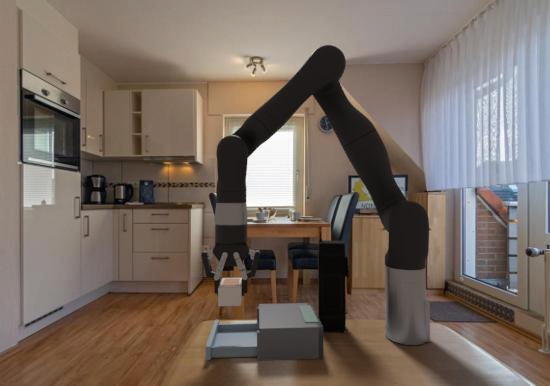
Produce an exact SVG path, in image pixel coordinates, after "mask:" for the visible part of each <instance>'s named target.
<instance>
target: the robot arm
mask: <svg viewBox="0 0 550 386" xmlns="http://www.w3.org/2000/svg"><path fill="white" fill-rule="evenodd" d="M346 61H347V60H346V57H345V54H344V52H343V51H342V50H341V49H340V48H339V47H337V46H335V45H332V44H325V45H321V46H319V47H317V48H316V49H315V50H313V52H312V53H311V54H310V56H309V57H308V59H306V61H305V63H304V64H303V65H302V66H301V67H300V69H299V70H297V72H296V73H295V74H294V75H293V76H292V77H291V78H290V79H289V80H288V81H287V82H286V83H285V84H284V85H283V86H282V87H281V88H280V89H279V90H278V91H276V92H275V94H273V95H272V96H271V97H270V98H269V99H267V101H265V102H264V103H263V104H262V105H261V106H259V107H258V108H257V109H256V110H255V111H254V112H253V113H252V114H250V115H249V116H248V117H247V118H246V119H245V120H244V122H243V123H242V125H241V126H240V127H239V128H238V129H237V130H235V131H234V132H233V133H232V134H230V135H226V136H224V137H222V139H220V140H219V142H218V144H217V146H216V155H215V156H216V168H217V181H216V190H215V191H216V192H215V193H216V195H215V201H216V202H215V203H216V205H215V213H214V246H213V249H211V250H204V251H203V252H202V253H201V255H200V256H201V261H202V265H203V268H204V273H205V276H206V278H207V279H213V282H214V283H213V285H214V286H213V288H214V291H213V292H214V294H215V295H217V297H218V287H219V285H220V283H221V280H222V278H221V276H222V273H223V269H224V267H225V268H226V267H237V268H238V270H239V273H240V276H241V278H242V280H241V284H242V297H245V295H246V294H247V293H248V291H249V289H248V288H249V287H248V285H249V279H252V278H254V277H256V274H257V269H258V266H259V265H258V264H259V261H260V257H261V251H260V250H259V249H258V250H257V249H256V250H254V249H250V247H249V245H248V206H247V181H246V180H247V170H248V162H249V161H248V158H249V157H250V156H252V154H253V153H254V152H255V151H256V150H257V149H258V148H259V147H260V146H262V145H263V144H264V143H266V142H267V141H268V140H269V139H271V138H272V137H273V136H274V135H275V134H276V133H277V132H279V130H280V129H281V128H282V127H284V126H285V124H286V123H287V122H288V121H290V119H291V118H292V117H293V116H294V115H295V113H297V111H298V110H299V109H300V108H301V107H302V106H303V104H305V102H307V100H309V99H310V97H311V96H313V98H314V100H315V101H316V102H317V104H318V105H319V107H320V108H321V110H322V111H323V113H324V114H325V116H326V117H327V120H328V122H329V124H330V126H331V129H332V130H333V132H334V134H335V136H336V137H337V139H338V141H339V143H340V145H341V148H342V150H343V151H344V153H345V155H346V156H347V159H348V161H349V163H350V164H351V166H352V167H353V169H354V171H355V172H356V174H357V176H358V177H359V179H360V181H361V183H363V185H364V187H365V189H366V190H367V191H368V193H369V196H370V197H371V201H372V202H373V205H374V208H375V210H376V212H377V214H378V217H379V220H380V222H381V224H382V226H383V228H384V229H385V231H387V233H388V247H387V251H386V253H385V254H384V296H385V297H384V307H385V309H384V313H385V314H384V315H385V316H384V317H385V318H384V319H385V320H384V321H385V323H384V326H385V327H384V329H385V336H386V338H388V339H389V340H390V341H392V342H394V343H398V344H401V345H406V346H419V345H423V344H426V343H429V342H430V343H431V309H430V308H431V306H430V305H431V303H430V301H429V300H428V299H427V294H426V293H427V292H426V291H427V289H426V287H427V286H426V283H427V281H426V276H427V275H426V264H427V263H426V262H427V259H428V257H429V251H430V249H429V243H430V242H429V241H430V221H429V216H428V212H427V210H426V209H425V207H424V206H423V205H422V204H420V203H419V202H416V201H413V200H408V199H407V198H406V197H405V195H404V193H403V192H402V189H400V186H399V185H398V183H397V181H396V179H395V177H394V174H393V171H392V164H391V162H390V157H389V154H388V153H389V152H388V151H387V148H386V146H385V143H384V142H383V139H382V137H381V136H380V134H379V132H378V130H377V129H376V127H375V126H374V124H373V122H372V121H371V120H370V119H369V118H368V117H367V116H366V115H365V114H363V113H362V112H361V111H360V110H358V109H357V108H356V107H355V105H353V104H352V103H351V102H350V100H349V99H348V97H347V95H346V93H345V92H344V90H343V87H342V85H341V83H340V80H341V78H342V77H343V74H344V73H345V69H346V65H347V63H346ZM213 255H214V257H215V258H216V260H217V261H218V262H219V263H218V265H217V268H216V271H213V268H212V263H211V259H212V257H213ZM248 255H249V256H250V259H251V260H252V263H251V268H250V270H249V271H247V268H246V265H245V263H244V260H245V259H246V257H248Z"/></svg>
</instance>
